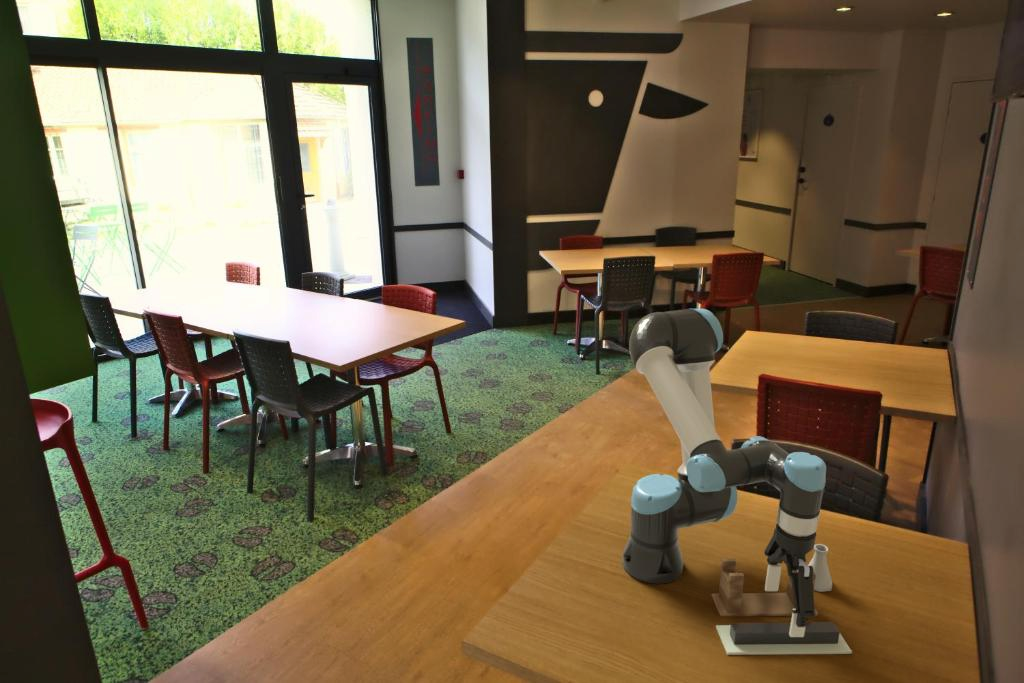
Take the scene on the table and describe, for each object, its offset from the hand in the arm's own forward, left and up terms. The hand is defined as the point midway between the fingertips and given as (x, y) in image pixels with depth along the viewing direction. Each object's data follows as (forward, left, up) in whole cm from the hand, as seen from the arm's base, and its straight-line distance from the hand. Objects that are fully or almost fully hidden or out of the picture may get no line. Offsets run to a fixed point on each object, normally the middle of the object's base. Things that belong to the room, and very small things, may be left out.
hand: (783, 612), depth 138 cm
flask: (+4, +24, -7) cm, 25 cm away
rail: (+1, -1, -6) cm, 6 cm away
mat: (0, 0, -7) cm, 7 cm away
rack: (-5, +9, -7) cm, 13 cm away
